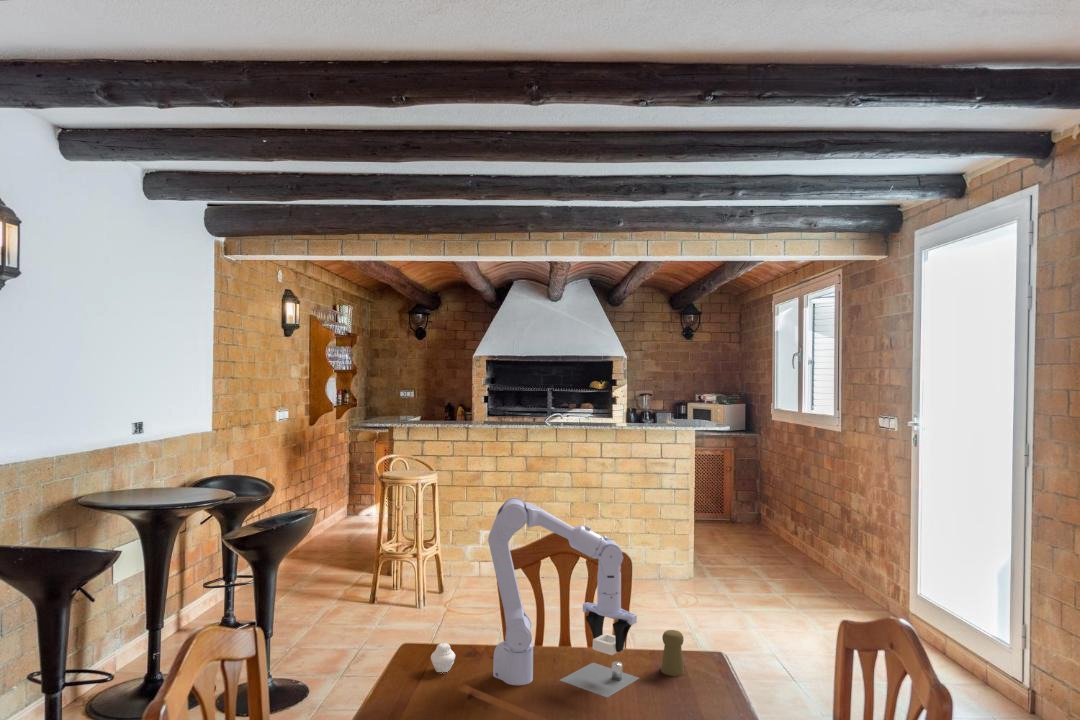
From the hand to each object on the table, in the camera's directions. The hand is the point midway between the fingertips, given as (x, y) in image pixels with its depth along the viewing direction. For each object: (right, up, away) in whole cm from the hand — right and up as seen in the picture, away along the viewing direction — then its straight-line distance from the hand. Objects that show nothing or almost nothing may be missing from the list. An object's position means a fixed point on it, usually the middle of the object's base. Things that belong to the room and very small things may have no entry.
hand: (608, 647), depth 171 cm
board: (-2, -9, 0) cm, 9 cm away
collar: (0, 0, 0) cm, 0 cm away
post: (+2, -8, 0) cm, 8 cm away
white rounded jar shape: (-41, -9, +6) cm, 43 cm away
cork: (+16, -9, +5) cm, 19 cm away
